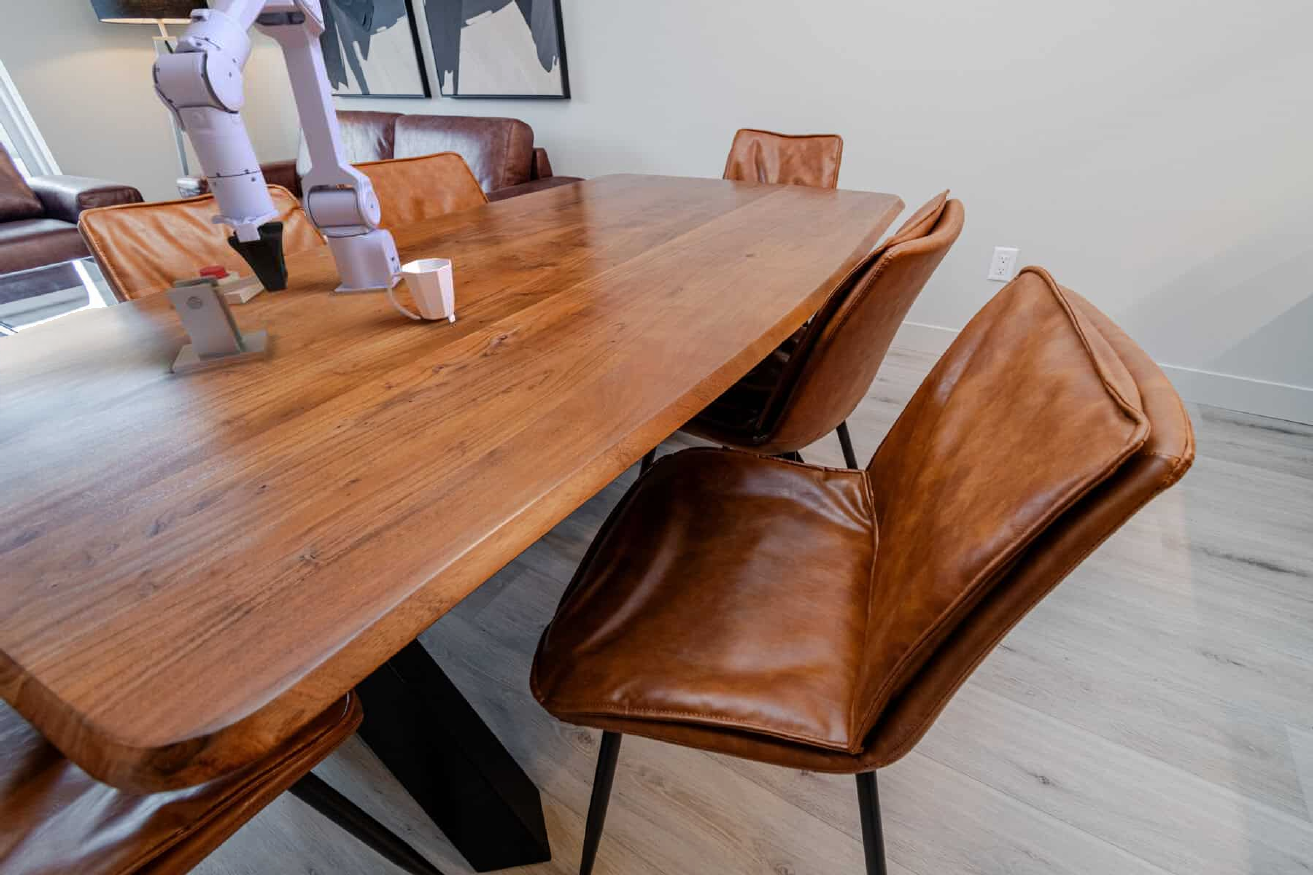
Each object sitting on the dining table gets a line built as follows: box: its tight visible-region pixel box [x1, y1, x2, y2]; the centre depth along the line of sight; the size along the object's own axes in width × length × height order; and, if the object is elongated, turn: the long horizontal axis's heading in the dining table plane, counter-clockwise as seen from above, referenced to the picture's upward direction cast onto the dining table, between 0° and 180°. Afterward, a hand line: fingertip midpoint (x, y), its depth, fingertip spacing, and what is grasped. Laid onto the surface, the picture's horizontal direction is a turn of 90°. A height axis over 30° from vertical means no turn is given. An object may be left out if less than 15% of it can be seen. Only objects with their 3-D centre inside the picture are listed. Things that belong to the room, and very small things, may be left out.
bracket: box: [166, 275, 270, 374], centre depth 76 cm, size 10×8×10 cm
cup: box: [386, 257, 456, 323], centre depth 84 cm, size 7×10×8 cm
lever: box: [198, 264, 289, 296], centre depth 76 cm, size 12×3×3 cm, turn 116°
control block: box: [198, 270, 265, 305], centre depth 99 cm, size 10×8×4 cm
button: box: [198, 265, 228, 280], centre depth 98 cm, size 4×4×2 cm
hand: (278, 286), depth 78 cm, fingers closed on lever, 3 cm apart
